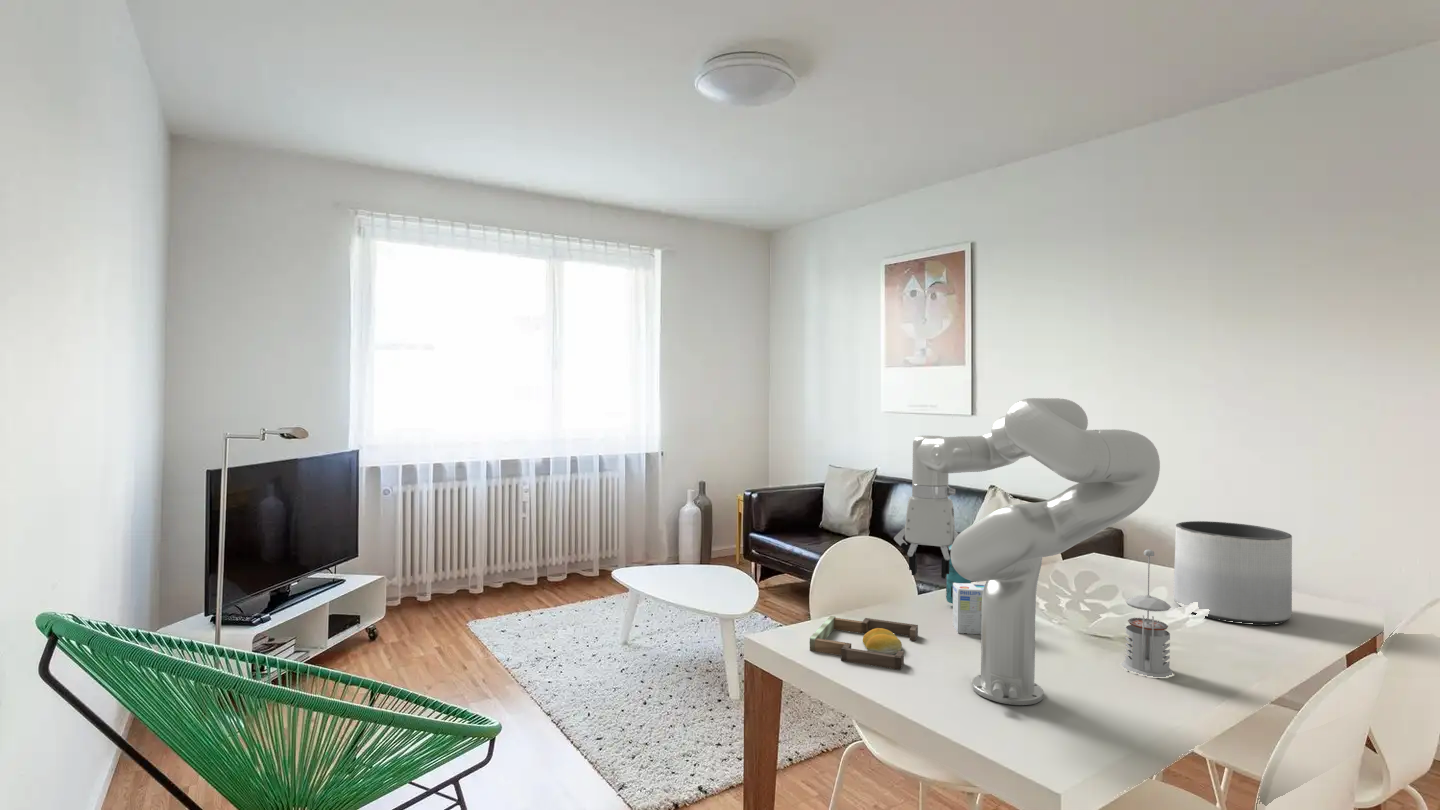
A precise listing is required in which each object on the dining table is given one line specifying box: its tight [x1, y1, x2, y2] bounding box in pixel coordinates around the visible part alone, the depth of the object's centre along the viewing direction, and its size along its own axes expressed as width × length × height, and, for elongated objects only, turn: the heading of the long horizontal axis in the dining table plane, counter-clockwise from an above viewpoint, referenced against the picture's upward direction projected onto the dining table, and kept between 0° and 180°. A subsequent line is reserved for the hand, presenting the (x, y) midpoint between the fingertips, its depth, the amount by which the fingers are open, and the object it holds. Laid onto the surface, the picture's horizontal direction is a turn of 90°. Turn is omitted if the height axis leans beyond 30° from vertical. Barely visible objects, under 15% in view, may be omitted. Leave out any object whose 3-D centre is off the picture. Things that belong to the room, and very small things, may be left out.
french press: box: [1120, 549, 1174, 677], centre depth 147 cm, size 10×12×25 cm
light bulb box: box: [952, 582, 986, 635], centre depth 172 cm, size 11×7×11 cm, turn 84°
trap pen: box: [809, 615, 919, 671], centre depth 161 cm, size 23×20×3 cm
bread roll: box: [862, 628, 903, 655], centre depth 159 cm, size 8×9×4 cm
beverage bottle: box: [945, 531, 973, 605], centre depth 191 cm, size 6×7×20 cm
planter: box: [1173, 520, 1293, 625], centre depth 189 cm, size 25×25×22 cm
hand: (929, 574), depth 155 cm, fingers open, 5 cm apart
